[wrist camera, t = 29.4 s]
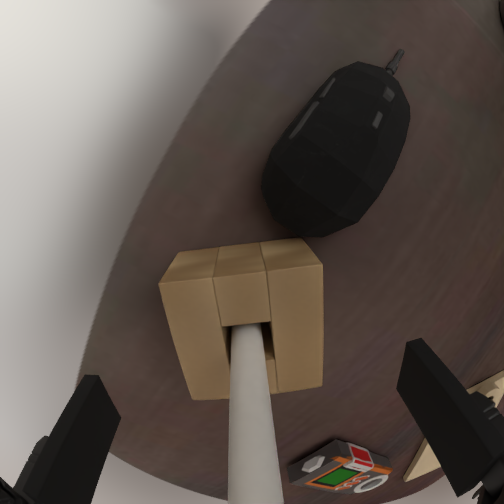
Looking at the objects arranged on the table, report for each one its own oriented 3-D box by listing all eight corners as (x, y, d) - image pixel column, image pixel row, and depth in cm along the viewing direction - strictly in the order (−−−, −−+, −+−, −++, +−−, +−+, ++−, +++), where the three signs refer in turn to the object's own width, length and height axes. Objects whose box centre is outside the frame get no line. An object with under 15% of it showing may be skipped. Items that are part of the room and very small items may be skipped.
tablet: (511, 361, 24) (522, 371, 21) (465, 447, 30) (471, 457, 27) (442, 397, 24) (453, 411, 21) (402, 477, 30) (407, 488, 27)
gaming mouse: (432, 82, 15) (467, 72, 11) (324, 251, 18) (345, 274, 14) (364, 22, 14) (389, -2, 10) (239, 195, 17) (239, 205, 13)
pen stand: (301, 236, 18) (323, 263, 13) (306, 340, 20) (322, 386, 15) (178, 251, 18) (157, 283, 13) (200, 352, 20) (192, 400, 15)
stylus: (256, 289, 19) (292, 564, 3) (258, 311, 19) (292, 570, 4) (231, 292, 19) (222, 567, 3) (234, 314, 19) (234, 574, 4)
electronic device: (360, 497, 26) (288, 485, 22) (355, 481, 29) (284, 464, 25) (402, 473, 25) (342, 456, 21) (395, 457, 28) (334, 434, 24)
